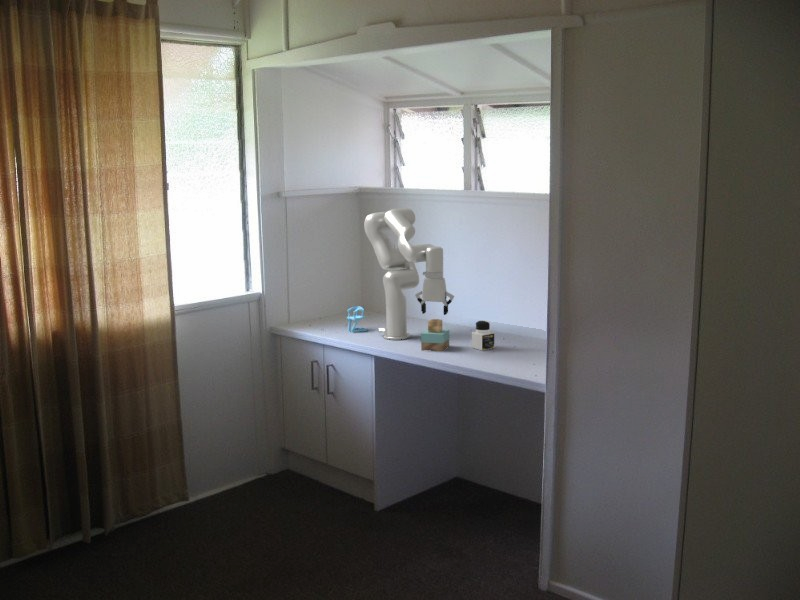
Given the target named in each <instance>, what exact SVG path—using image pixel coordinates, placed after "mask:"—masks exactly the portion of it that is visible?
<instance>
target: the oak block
mask: <svg viewBox="0 0 800 600" xmlns="http://www.w3.org/2000/svg"><path fill="white" fill-rule="evenodd" d="M427 329H428V332H430V333H440V332H441V331H442V329H443V319H442V318H441V319H439V318H430V319H429V320H427Z"/></svg>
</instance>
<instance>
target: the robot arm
mask: <svg viewBox="0 0 800 600" xmlns="http://www.w3.org/2000/svg"><path fill="white" fill-rule="evenodd" d="M415 222H416V214H415V212H414V211H413V210H412V209H411V208H409V207H404V208H403V207H402V208H400V207H399V208H391V209H390V210H387V211H381V212H380V211H379V212H378V211H377V212H373V213H370V214H368V215H367V216H366V217H365V219H364V223H363V224H364V225H363V226H364V232H365V235H366V236H367V239H368V241H369V242H370V244H371V245H372V248H373V251H374V253H375V256H376V258H377V262H378V265H379V266H380V268H381V269H382V270H384V271H386V273H385V274H384V275H383V277H382V284H383V288H384V295H385V318H386V320H385V321H386V327H379V328H378V332H379V333H384V334H383V338H384V339H385V340H389V339H390V341H391V340H392V341H400V340H401V339H402V340H407V339H409V338H411V333H409V332H408V324H407V323H408V320H407V319H408V317H407V316H408V315H407V314H408V313H407V299H406V296H405V295H404V293H403V291H404V290H411V289H415V288H417V287H418V285H419V283H420V276H419V272H418V269H417V267H416V265H415V264H416V263H417V264H418V263H425V271H423V272H422V276H424V278H423V280H422V281H423V283H422V290H421V291H420V292H417V293H416V294H415V298H416V299H417V302H418V303H419V304H420V306H421V307H420V308H421V309H420V310H421V312H422V314H424V315H425V314H426V312H427V303H426V302H433V303H442V304H443V316H446V315H447V314H448V313H449V305H450V304H451V303H452V302H453V300H454V298H455V295H453V294H451V293H450V292H448V291H447V283H446V279H445V278H444V249H443V248H442V247H441V246H436V245H433V244H430V243H425V244H417V245H413V244H411V243H410V242H409V241H410V240H411V239H412V238H413V237H414V235H415V234H416V228H415V226H414V224H415ZM386 230H387V231H390V230H391V231H392V232H393V233H394V234H395V236H396V237H397V238H398V239H397V247H398V248H394V247H393V245H392V242H391V241H390V238H389V237H388V235H386V234H385V233H384V232H382V231H386ZM388 270H389V271H388ZM447 298H449V300H447ZM402 340H401V341H402Z"/></svg>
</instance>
